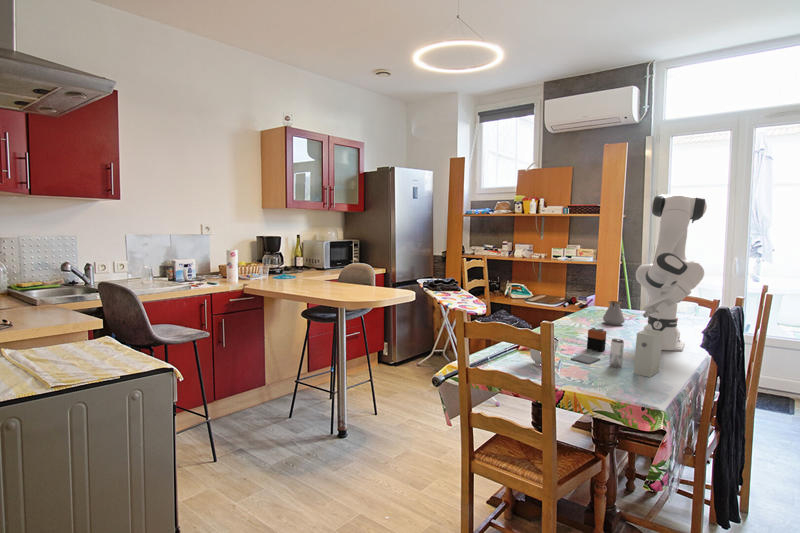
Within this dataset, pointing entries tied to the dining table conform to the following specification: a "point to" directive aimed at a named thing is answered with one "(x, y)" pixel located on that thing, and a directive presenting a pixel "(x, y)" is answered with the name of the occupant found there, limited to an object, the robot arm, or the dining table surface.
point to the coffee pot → (614, 314)
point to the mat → (585, 359)
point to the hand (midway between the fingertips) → (650, 313)
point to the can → (616, 353)
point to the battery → (596, 339)
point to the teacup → (537, 356)
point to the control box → (648, 352)
